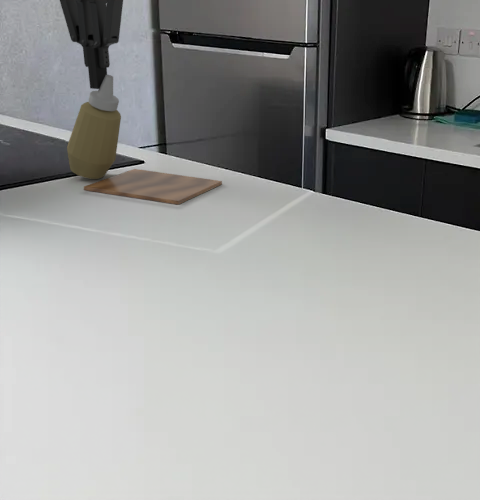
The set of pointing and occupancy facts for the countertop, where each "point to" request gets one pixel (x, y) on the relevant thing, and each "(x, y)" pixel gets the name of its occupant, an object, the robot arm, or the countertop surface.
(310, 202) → the countertop surface
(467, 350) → the countertop surface
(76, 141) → the squeeze bottle
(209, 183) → the wooden board
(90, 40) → the robot arm
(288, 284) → the countertop surface
